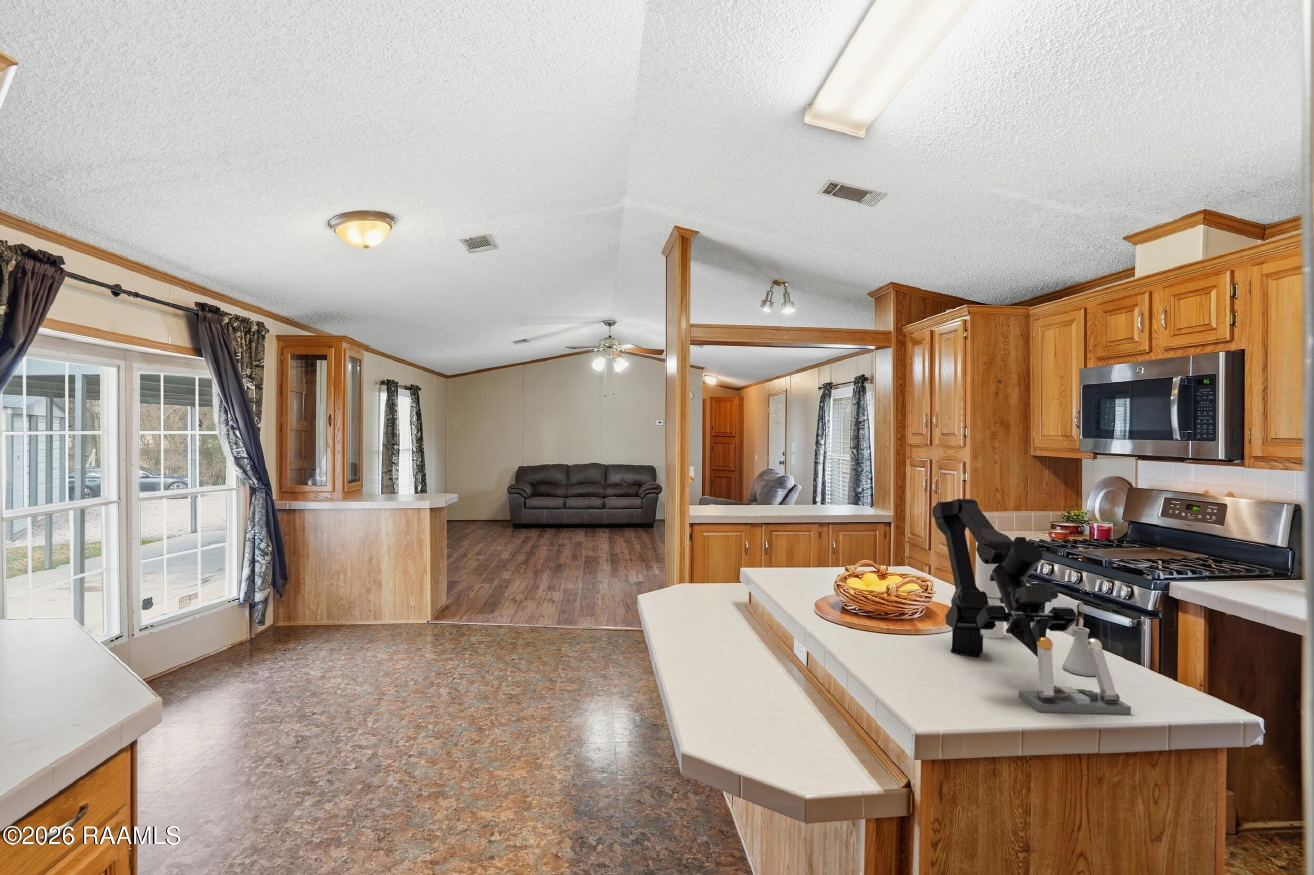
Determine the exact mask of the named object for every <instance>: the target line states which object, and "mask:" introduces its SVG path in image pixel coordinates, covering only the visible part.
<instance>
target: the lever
mask: <svg viewBox="0 0 1314 875" xmlns="http://www.w3.org/2000/svg"><path fill="white" fill-rule="evenodd" d="M1086 648H1087V649H1088V652H1089V655H1090V658H1091V662H1092V665H1093V668H1094V672H1095V675H1096V676H1095V678H1096V682H1097V684H1098V685H1097V686H1098V687H1099V690H1100V691H1099V692H1101V693H1100V698H1101V700H1102V701H1111V702H1119V700H1120V698H1121V697H1120V695H1119V694H1118V692H1117V691H1116V688H1115V684H1114V682H1113V680H1112V676H1111V672H1110V669H1109V667H1108V663H1107V660H1106V657H1105V654H1104V650H1103V645H1102V643H1101V641H1100V640H1099V639H1097V638H1095V637H1091V638H1088V640H1087V641H1086ZM1120 701H1121V700H1120Z"/></svg>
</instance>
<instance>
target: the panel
mask: <svg viewBox="0 0 1314 875" xmlns="http://www.w3.org/2000/svg"><path fill="white" fill-rule="evenodd" d="M1053 687H1054V692H1055V694H1056V699H1055V700H1040V699H1039V698H1038V696H1037V692H1038V691H1039V690H1023V689H1022V690H1021V689H1019V690H1018V698H1019V699H1021V701H1023V702H1024V703H1025V704H1027V705H1028V706H1029V707H1031V708H1032V709H1034V710H1035V711H1036V712H1038V713H1059V712H1068V713H1069V714H1097V713H1106V714H1105V715H1132V706H1131V705H1129V704H1127V703H1126V702H1123V701H1121V700H1119V702H1111V701H1102V700H1101V698H1100V693H1101V691H1099V692H1098V691H1096V692H1095V691H1093V690H1091V689H1090V690H1089V689H1087V690H1086V689H1083V688H1082V689H1081V688H1073V687H1072V686H1057V685H1053ZM1068 713H1067V714H1068Z"/></svg>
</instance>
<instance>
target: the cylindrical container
mask: <svg viewBox="0 0 1314 875" xmlns="http://www.w3.org/2000/svg"><path fill="white" fill-rule="evenodd" d="M975 543H976V544H975V545H976V546H975V549H976V548H977V545H978V543H977V541H976V542H975ZM997 565H998V564H984V563H983V562H982V560H981V559H980V557H979V555H978V553H977V551H976V550H975V575H974V578H975V582H976V586H977V588H978V589H979V590H980V591H984V592H985V593H986V594H987V599H988V603H989V605H998V606H1003V607H1005V604H1004V603H1000V601H999V599H1000V597H1001V594H1000V592H999V589H998V587H997V584H996V582H995V581H990V575H991V574H992V570H993V569H994V568H995V567H996V566H997ZM995 624H996V626H995V627H994V628H993V630H983V629H981V634H983V638H986V639H987V638H989V639H994V640H995V639H997V638H998V639H1002V638H1004V633H1005V632H1004V631H1005V630H1004V624H1005V622H995Z"/></svg>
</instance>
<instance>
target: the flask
mask: <svg viewBox="0 0 1314 875" xmlns="http://www.w3.org/2000/svg"><path fill="white" fill-rule="evenodd" d="M1072 629H1073V632H1074V637H1073V641H1072V644H1071V646H1070V648H1069V650H1068V653H1067V655H1066V657H1065V659H1064V661H1063V663H1062V670H1065V671H1067V672H1068V673H1071V674H1075V675H1079V676H1080V675H1081V676H1085V677H1096V675H1095V672H1094V668H1093V665H1092V662H1091V658H1090V655H1089V652H1088V649H1087V648H1086V641H1087V640H1088V639H1089V634H1090V629H1088V628H1086V627H1082V626H1073V627H1072Z"/></svg>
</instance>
